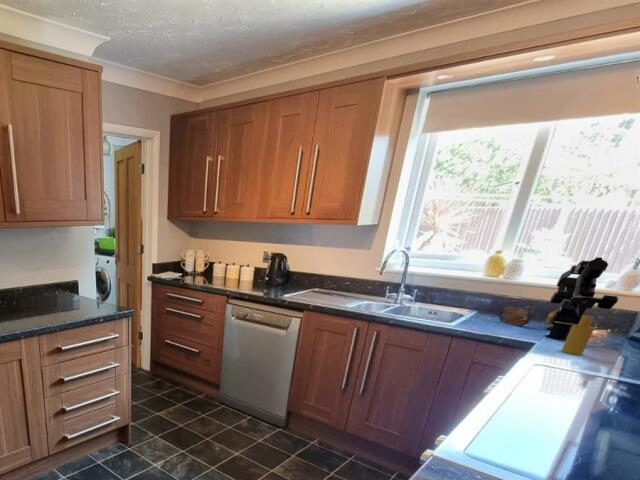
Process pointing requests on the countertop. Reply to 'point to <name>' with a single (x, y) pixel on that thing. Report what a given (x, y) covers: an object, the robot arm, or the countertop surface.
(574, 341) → the bottle
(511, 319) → the tin
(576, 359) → the countertop surface
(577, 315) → the robot arm
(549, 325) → the burger
